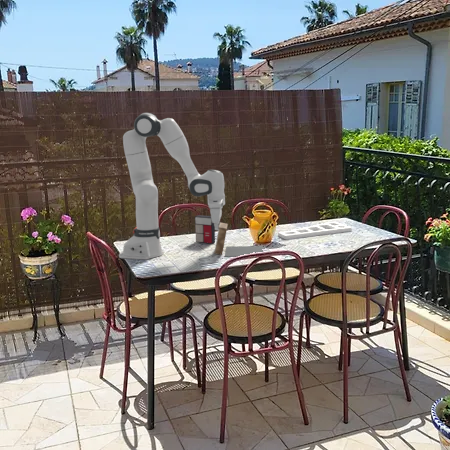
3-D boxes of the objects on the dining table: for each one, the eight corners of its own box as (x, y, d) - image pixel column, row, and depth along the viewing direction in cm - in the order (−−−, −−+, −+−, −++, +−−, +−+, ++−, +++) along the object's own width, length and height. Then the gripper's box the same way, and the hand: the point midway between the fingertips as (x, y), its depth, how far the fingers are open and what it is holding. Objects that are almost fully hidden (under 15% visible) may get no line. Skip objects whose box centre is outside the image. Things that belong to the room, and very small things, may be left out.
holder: (285, 240, 268) (285, 235, 267) (271, 233, 284) (271, 229, 284) (351, 231, 283) (352, 227, 283) (334, 225, 300) (335, 221, 299)
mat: (224, 256, 238) (224, 256, 238) (226, 247, 255) (226, 246, 255) (266, 256, 237) (266, 255, 237) (265, 246, 254) (265, 246, 254)
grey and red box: (195, 242, 267) (194, 216, 263) (199, 240, 270) (198, 215, 267) (212, 244, 262) (211, 217, 258) (215, 242, 265) (214, 216, 262)
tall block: (214, 253, 242) (218, 227, 238) (216, 247, 252) (220, 222, 249) (222, 254, 241) (226, 228, 238) (223, 248, 252) (227, 223, 249)
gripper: (212, 198, 251) (213, 223, 254) (208, 205, 231) (209, 232, 235) (223, 197, 251) (224, 223, 254) (221, 205, 231) (222, 232, 234)
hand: (217, 227), depth 244 cm, fingers open, 8 cm apart
